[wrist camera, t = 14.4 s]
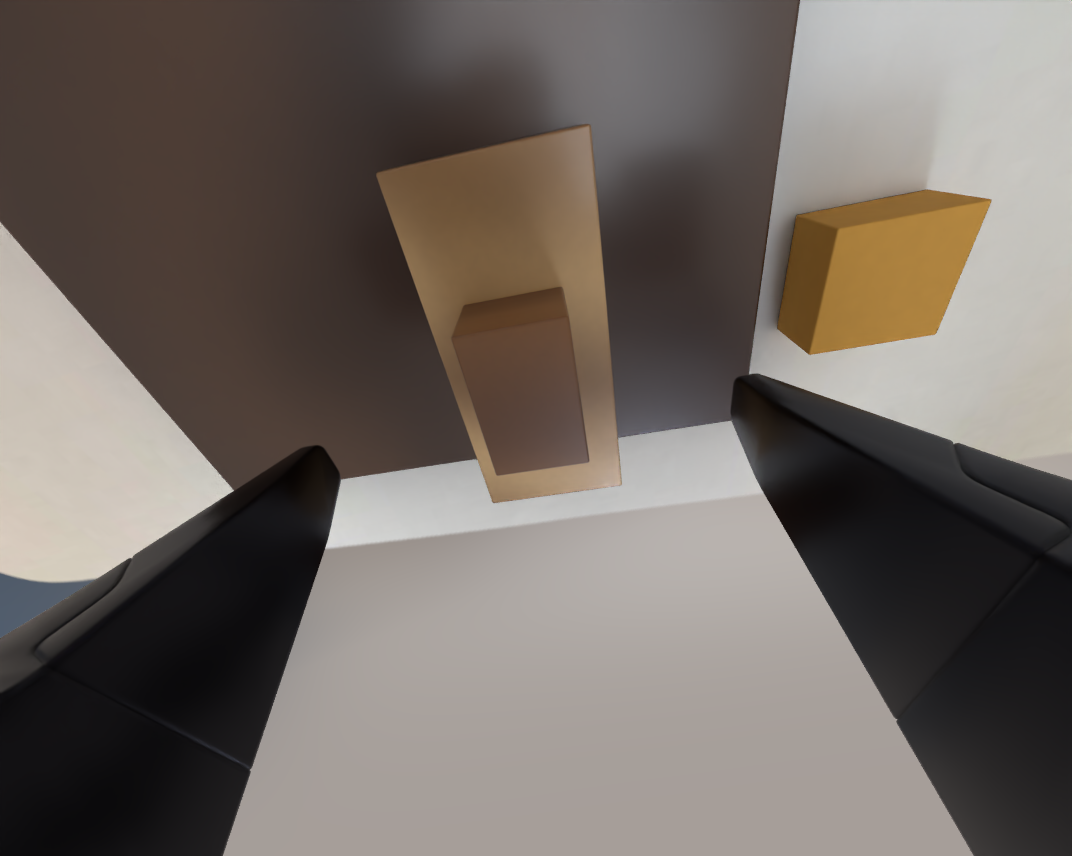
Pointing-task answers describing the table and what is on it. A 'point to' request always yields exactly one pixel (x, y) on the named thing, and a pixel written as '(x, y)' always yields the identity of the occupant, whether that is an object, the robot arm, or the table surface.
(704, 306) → the board
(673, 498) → the table surface
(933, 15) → the table surface
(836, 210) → the mustard orange square block
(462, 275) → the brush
